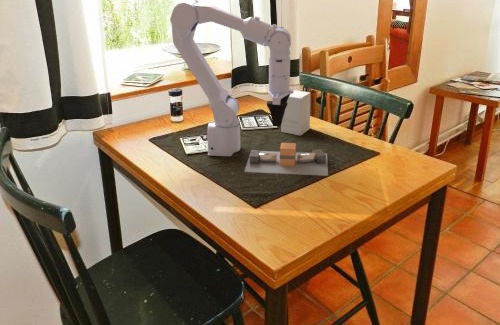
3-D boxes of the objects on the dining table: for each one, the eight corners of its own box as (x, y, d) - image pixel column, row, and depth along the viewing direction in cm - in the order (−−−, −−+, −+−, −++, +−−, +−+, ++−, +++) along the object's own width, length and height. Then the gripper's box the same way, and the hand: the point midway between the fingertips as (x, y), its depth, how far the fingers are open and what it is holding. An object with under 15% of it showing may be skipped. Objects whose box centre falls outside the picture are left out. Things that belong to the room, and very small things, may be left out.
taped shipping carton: (279, 165, 123) (279, 148, 121) (281, 159, 127) (281, 142, 125) (294, 166, 123) (295, 149, 120) (295, 159, 126) (296, 143, 124)
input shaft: (249, 167, 125) (249, 156, 123) (251, 160, 128) (251, 149, 127) (275, 168, 124) (275, 157, 122) (277, 161, 128) (277, 150, 126)
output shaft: (300, 169, 123) (300, 158, 121) (295, 162, 127) (296, 151, 125) (325, 166, 124) (326, 155, 123) (320, 160, 128) (320, 149, 127)
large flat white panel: (244, 175, 120) (244, 171, 120) (251, 153, 133) (251, 150, 132) (327, 179, 118) (328, 175, 117) (326, 156, 130) (327, 153, 130)
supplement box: (310, 129, 150) (311, 92, 145) (300, 136, 145) (301, 98, 139) (290, 125, 154) (291, 89, 148) (280, 132, 148) (280, 94, 143)
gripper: (292, 81, 116) (290, 131, 122) (295, 68, 129) (294, 113, 135) (264, 81, 117) (264, 129, 123) (271, 67, 130) (270, 112, 136)
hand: (278, 121), depth 129 cm, fingers open, 7 cm apart
